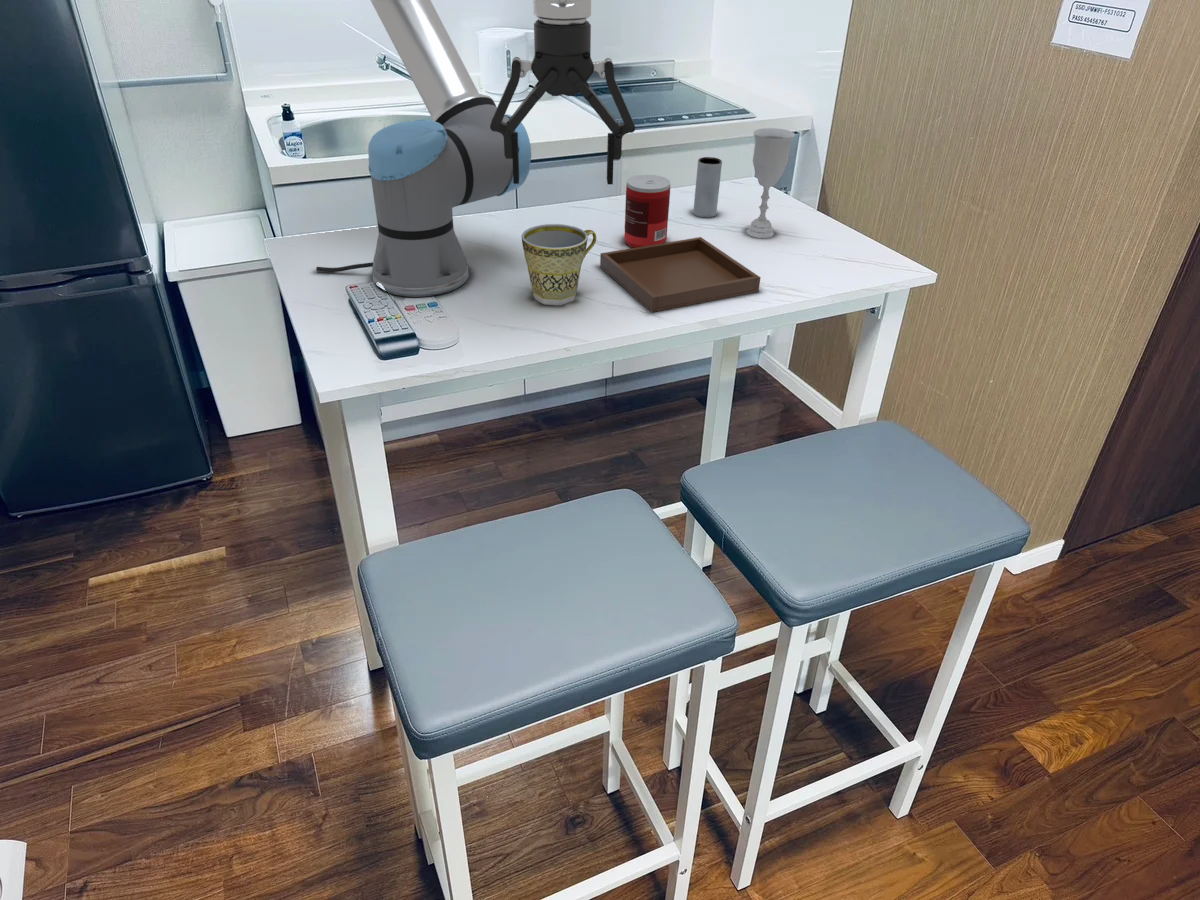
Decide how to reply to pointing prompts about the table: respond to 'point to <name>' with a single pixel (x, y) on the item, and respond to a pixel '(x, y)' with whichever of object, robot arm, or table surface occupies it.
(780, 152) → the chalice
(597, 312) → the table surface
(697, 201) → the gray cylinder
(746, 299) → the table surface
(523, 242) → the ceramic cup
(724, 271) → the tray
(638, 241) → the canned food
